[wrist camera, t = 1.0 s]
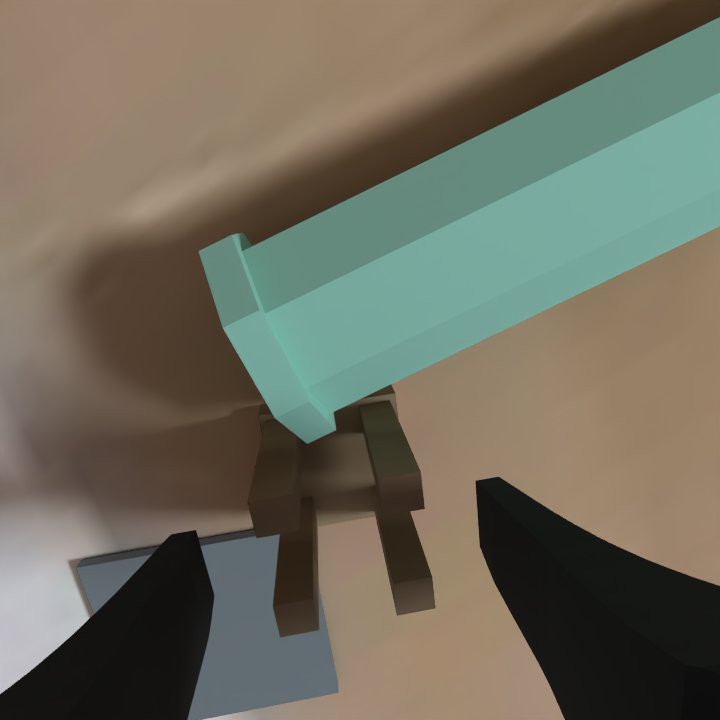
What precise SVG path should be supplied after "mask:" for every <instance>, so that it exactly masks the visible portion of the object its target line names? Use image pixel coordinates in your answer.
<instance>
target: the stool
mask: <svg viewBox="0 0 720 720" xmlns="http://www.w3.org/2000/svg"><path fill="white" fill-rule="evenodd" d="M258 417H259V422H260V426H261V431H262V439H261V444H260V449H259V453H258V458H257V462H256V467H255V471H254V476H253V480H252V485H251V489H250V494H249V498H248V505H249V509H250V514H251V518H252V522H253V526H254V530H255V534H256V539H257V538H262V537H268V536H274V535H279V534H280V536H279V547H278V557H277V567H276V577H275V587H274V598H273V610H274V614H275V618H276V622H277V627H278V631H279V635H280V638H281V637H286V636H292V635H297V634H302V633H307V632H313V631H318V630H319V583H318V535H317V526H322V525H327V524H333V523H339V522H344V521H350V520H356V519H361V518H367V517H373V516H376V520H377V525H378V529H379V534H380V539H381V543H382V548H383V552H384V557H385V562H386V566H387V571H388V576H389V580H390V585H391V589H392V594H393V599H394V603H395V608H396V613H397V615H402V614H408V613H413V612H418V611H424V610H429V609H434V608H435V600H434V590H433V581H432V575H431V572H430V569H429V566H428V563H427V560H426V557H425V554H424V551H423V548H422V545H421V542H420V540H419V537H418V534H417V531H416V528H415V525H414V522H413V519H412V516H411V513H410V511H415V510H420V509H425V507H424V498H423V489H422V480H421V472H420V469H419V467H418V465H417V462H416V460H415V458H414V455H413V453H412V451H411V448H410V446H409V444H408V441H407V439H406V437H405V434H404V432H403V430H402V427H401V425H400V423H399V420H398V412H397V404H396V396H395V392H394V390H393V388H392V386H391V385H388V386H386V387H384V388H382V389H380V390H378V391H376V392H374V393H372V394H370V395H368V396H366V397H363V398H361V399H359V400H357V401H355V402H353V403H351V404H349V405H347V406H345V407H343V408H341V409H338V410H336V411H334V419H335V425H336V430H335V431H333V432H331V433H329V434H327V435H325V436H323V437H321V438H319V439H317V440H314V441H312V442H310V443H308V444H307V443H306V442H304V441H303V440H302V439H301V438H299V437H298V436H297V435H295V434H294V433H293V432H292V431H290V430H289V429H288V428H287V427H285V426H284V425H283V424H282V423H280V422H279V421H278V420H277V419H275V417H274V416H273V414H272V412H271V411H270V409H269V407H268V405H267V404H262V405H261V407H260V411H259V414H258Z"/></svg>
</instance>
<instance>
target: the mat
mask: <svg viewBox="0 0 720 720" xmlns="http://www.w3.org/2000/svg"><path fill="white" fill-rule="evenodd" d="M279 536H280V534H279V535H274V536H268V537H262V538H257V539H256V534H255V530H249V531H243V532H238V533H232V534H226V535H221V536H215V537H209V538H204V539H199V542H200V546H201V549H202V553H203V556H204V560H205V563H206V567H207V570H208V574H209V577H210V581H211V584H212V588H213V591H214V595H215V596H214V604H213V612H212V620H211V627H210V634H209V639H208V643H207V647H206V651H205V655H204V659H203V663H202V667H201V670H200V674H199V678H198V682H197V686H196V689H195V693H194V697H193V701H192V704H191V708H190V712H189V716H188V720H202V719H207V718H212V717H217V716H222V715H227V714H232V713H237V712H242V711H248V710H253V709H258V708H263V707H268V706H273V705H278V704H283V703H288V702H293V701H298V700H303V699H309V698H314V697H319V696H324V695H329V694H334V693H338V681H337V676H336V671H335V666H334V661H333V656H332V651H331V646H330V641H329V636H328V631H327V626H326V621H325V616H324V611H323V606H322V601H321V596H320V591H319V630H318V631H313V632H307V633H302V634H297V635H292V636H286V637H281V638H280V635H279V631H278V627H277V622H276V618H275V614H274V610H273V598H274V587H275V577H276V567H277V557H278V547H279ZM158 548H159V546H158V547H153V548H147V549H141V550H135V551H130V552H124V553H118V554H113V555H107V556H101V557H96V558H90V559H84V560H81V561H80V563H79V564H78V566H77V567H76V569H77V572H78V574H79V577H80V580H81V582H82V585H83V587H84V590H85V593H86V595H87V598H88V600H89V603H90V606H91V608H92V611H93V613H94V614H95V613H96V612H97V611H98V610H99V609H100V608H101V607H102V606H103V605H104V604H105V603H106V602H107V601H108V600H109V599H110V598H111V597H112V596H113V595H114V594H115V593H116V592H117V591H118V590H119V589H120V588H121V587H122V586H123V585H124V584H125V583H126V582H127V581H128V580H129V578H130V577H131V576H132V575H133V574H134V573H135V572H136V571H137V570H138V569H139V568H140V567H141V566H142V565H143V564H144V563H145V561H146V560H147V559H148V558H149V557H150V556H151V555H152V554H153V553H154V552H155V551H156V550H157V549H158Z"/></svg>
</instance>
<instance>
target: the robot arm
mask: <svg viewBox="0 0 720 720" xmlns="http://www.w3.org/2000/svg"><path fill="white" fill-rule="evenodd" d="M476 495H477V510H478V525H479V539H480V548H481V550H482V553H483V555H484V558H485V560H486V563H487V566H488V568H489V570H490V573H491V575H492V578H493V580H494V583H495V584H496V586H497V588H498V590H499V592H500V594H501V596H502V597H503V599H504V601H505V603H506V605H507V607H508V608H509V610H510V612H511V614H512V616H513V618H514V619H515V621H516V623H517V625H518V627H519V628H520V630H521V632H522V634H523V636H524V637H525V639H526V641H527V643H528V645H529V647H530V648H531V650H532V652H533V654H534V656H535V657H536V659H537V661H538V663H539V665H540V667H541V669H542V671H543V673H544V675H545V677H546V679H547V681H548V683H549V685H550V687H551V689H552V691H553V693H554V696H555V698H556V700H557V703H558V705H559V707H560V709H561V712H562V714H563V716H564V719H565V720H720V586H718V585H715V584H712V583H709V582H706V581H703V580H700V579H697V578H694V577H691V576H688V575H686V574H683V573H680V572H677V571H675V570H672V569H669V568H667V567H664V566H661V565H659V564H656V563H654V562H651V561H649V560H646V559H644V558H642V557H639V556H637V555H635V554H633V553H631V552H628V551H626V550H624V549H622V548H620V547H617V546H615V545H613V544H611V543H609V542H607V541H605V540H603V539H601V538H599V537H597V536H595V535H593V534H591V533H590V532H588V531H586V530H584V529H582V528H580V527H578V526H577V525H575V524H573V523H571V522H570V521H568V520H566V519H564V518H563V517H561V516H559V515H558V514H556V513H554V512H553V511H551V510H549V509H548V508H546V507H545V506H543V505H541V504H540V503H538V502H537V501H535V500H534V499H532V498H531V497H529V496H527V495H526V494H524V493H523V492H521V491H520V490H518V489H517V488H515V487H514V486H512V485H511V484H509V483H508V482H506V481H504V480H503V479H501V478H500V477H495V478H489V479H483V480H478V481H476ZM214 596H215V595H214V591H213V588H212V584H211V581H210V577H209V574H208V570H207V567H206V563H205V560H204V556H203V553H202V549H201V546H200V542H199V539H198V535H197V532H196V530H194V531H188V532H182V533H177V534H171V535H170V536H169V537H168V538H167V539H166V540H165V541H164V542H163V543H162V544H161V545H160V546H159V548H158V549H157V550H156V551H155V552H154V553H153V554H152V555H151V556H150V557H149V558H148V559H147V560H146V561H145V563H144V564H143V565H142V566H141V567H140V568H139V569H138V570H137V571H136V572H135V573H134V574H133V575H132V576H131V577H130V578H129V580H128V581H127V582H126V583H125V584H124V585H123V586H122V587H121V588H120V589H119V590H118V591H117V592H116V593H115V594H114V595H113V596H112V597H111V598H110V599H109V600H108V601H107V602H106V603H105V604H104V605H103V606H102V607H101V608H100V609H99V610H98V611H97V612H96V613H95V614H94V615H93V616H92V617H91V618H90V619H89V620H88V621H87V622H86V623H85V624H84V625H83V626H81V627H80V628H79V629H78V630H77V631H76V632H75V633H74V634H73V635H72V636H71V637H70V638H69V639H67V640H66V641H65V642H64V643H63V644H62V645H61V646H60V647H58V648H57V649H56V650H55V651H54V652H53V653H51V654H50V655H49V656H48V657H47V658H45V659H44V660H43V661H42V662H41V663H40V664H38V665H37V666H36V667H35V668H34V669H32V670H31V671H30V672H29V673H27V674H26V675H25V676H24V677H22V678H21V679H20V680H18V681H17V682H16V683H15V684H13V685H12V686H11V687H9V688H8V689H7V690H5V691H4V692H3V693H1V694H0V720H188V716H189V712H190V708H191V704H192V701H193V697H194V693H195V689H196V686H197V682H198V678H199V674H200V670H201V667H202V663H203V659H204V655H205V651H206V647H207V643H208V639H209V634H210V627H211V620H212V612H213V604H214Z"/></svg>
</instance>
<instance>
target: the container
mask: <svg viewBox="0 0 720 720" xmlns="http://www.w3.org/2000/svg"><path fill="white" fill-rule="evenodd" d="M719 226H720V17H719V18H717V19H715V20H713V21H711V22H709V23H707V24H705V25H703V26H701V27H698V28H696V29H694V30H692V31H690V32H688V33H686V34H684V35H682V36H680V37H678V38H676V39H674V40H672V41H670V42H668V43H666V44H664V45H662V46H660V47H658V48H656V49H654V50H652V51H650V52H647V53H645V54H643V55H641V56H639V57H637V58H635V59H633V60H631V61H629V62H627V63H625V64H623V65H621V66H619V67H617V68H615V69H613V70H611V71H609V72H607V73H605V74H603V75H601V76H599V77H597V78H594V79H592V80H590V81H588V82H586V83H584V84H582V85H580V86H578V87H576V88H574V89H572V90H570V91H568V92H566V93H564V94H562V95H560V96H558V97H556V98H554V99H552V100H550V101H548V102H546V103H543V104H541V105H539V106H537V107H535V108H533V109H531V110H529V111H527V112H525V113H523V114H521V115H519V116H517V117H515V118H513V119H511V120H509V121H507V122H505V123H503V124H501V125H499V126H497V127H495V128H492V129H490V130H488V131H486V132H484V133H482V134H480V135H478V136H476V137H474V138H472V139H470V140H468V141H466V142H464V143H462V144H460V145H458V146H456V147H454V148H452V149H450V150H448V151H446V152H444V153H441V154H439V155H437V156H435V157H433V158H431V159H429V160H427V161H425V162H423V163H421V164H419V165H417V166H415V167H413V168H411V169H409V170H407V171H405V172H403V173H401V174H399V175H397V176H395V177H393V178H390V179H388V180H386V181H384V182H382V183H380V184H378V185H376V186H374V187H372V188H370V189H368V190H366V191H364V192H362V193H360V194H358V195H356V196H354V197H352V198H350V199H348V200H346V201H344V202H342V203H340V204H337V205H335V206H333V207H331V208H329V209H327V210H325V211H323V212H321V213H319V214H317V215H315V216H313V217H311V218H309V219H307V220H305V221H303V222H301V223H299V224H297V225H295V226H293V227H291V228H289V229H286V230H284V231H282V232H280V233H278V234H276V235H274V236H272V237H270V238H268V239H266V240H264V241H262V242H260V243H258V244H256V245H254V246H252V244H251V243H250V241H249V240H248V238H247V237H246V235H245V234H244V232H243V233H238V234H233V235H230V236H228V237H226V238H224V239H222V240H220V241H218V242H216V243H214V244H212V245H210V246H208V247H206V248H204V249H202V250H200V251H199V254H200V258H201V261H202V264H203V267H204V270H205V273H206V277H207V280H208V283H209V286H210V289H211V292H212V296H213V299H214V302H215V305H216V308H217V311H218V315H219V318H220V321H221V324H222V327H223V329H224V331H225V333H226V334H227V336H228V338H229V340H230V341H231V343H232V345H233V347H234V348H235V350H236V352H237V353H238V355H239V357H240V359H241V360H242V362H243V364H244V366H245V367H246V369H247V371H248V372H249V374H250V376H251V378H252V379H253V381H254V383H255V385H256V386H257V388H258V390H259V392H260V393H261V395H262V397H263V398H264V400H265V402H266V404H267V405H268V407H269V409H270V411H271V412H272V414H273V416H274V417H275V419H277V420H278V421H279V422H280V423H282V424H283V425H284V426H285V427H287V428H288V429H289V430H290V431H292V432H293V433H294V434H295V435H297V436H298V437H299V438H301V439H302V440H303V441H304V442H306V443H307V444H308V443H310V442H312V441H314V440H317V439H319V438H321V437H323V436H325V435H327V434H329V433H331V432H333V431H335V430H336V425H335V419H334V411H336V410H338V409H341V408H343V407H345V406H347V405H349V404H351V403H353V402H355V401H357V400H359V399H361V398H363V397H366V396H368V395H370V394H372V393H374V392H376V391H378V390H380V389H382V388H384V387H386V386H388V385H391V384H393V383H395V382H397V381H399V380H401V379H403V378H405V377H407V376H409V375H411V374H413V373H415V372H418V371H420V370H422V369H424V368H426V367H428V366H430V365H432V364H434V363H436V362H438V361H440V360H443V359H445V358H447V357H449V356H451V355H453V354H455V353H457V352H459V351H461V350H463V349H465V348H468V347H470V346H472V345H474V344H476V343H478V342H480V341H482V340H484V339H486V338H488V337H490V336H492V335H495V334H497V333H499V332H501V331H503V330H505V329H507V328H509V327H511V326H513V325H515V324H517V323H520V322H522V321H524V320H526V319H528V318H530V317H532V316H534V315H536V314H538V313H540V312H542V311H545V310H547V309H549V308H551V307H553V306H555V305H557V304H559V303H561V302H563V301H565V300H567V299H569V298H572V297H574V296H576V295H578V294H580V293H582V292H584V291H586V290H588V289H590V288H592V287H594V286H597V285H599V284H601V283H603V282H605V281H607V280H609V279H611V278H613V277H615V276H617V275H619V274H622V273H624V272H626V271H628V270H630V269H632V268H634V267H636V266H638V265H640V264H642V263H644V262H646V261H649V260H651V259H653V258H655V257H657V256H659V255H661V254H663V253H665V252H667V251H669V250H671V249H674V248H676V247H678V246H680V245H682V244H684V243H686V242H688V241H690V240H692V239H694V238H696V237H699V236H701V235H703V234H705V233H707V232H709V231H711V230H713V229H715V228H717V227H719Z"/></svg>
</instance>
